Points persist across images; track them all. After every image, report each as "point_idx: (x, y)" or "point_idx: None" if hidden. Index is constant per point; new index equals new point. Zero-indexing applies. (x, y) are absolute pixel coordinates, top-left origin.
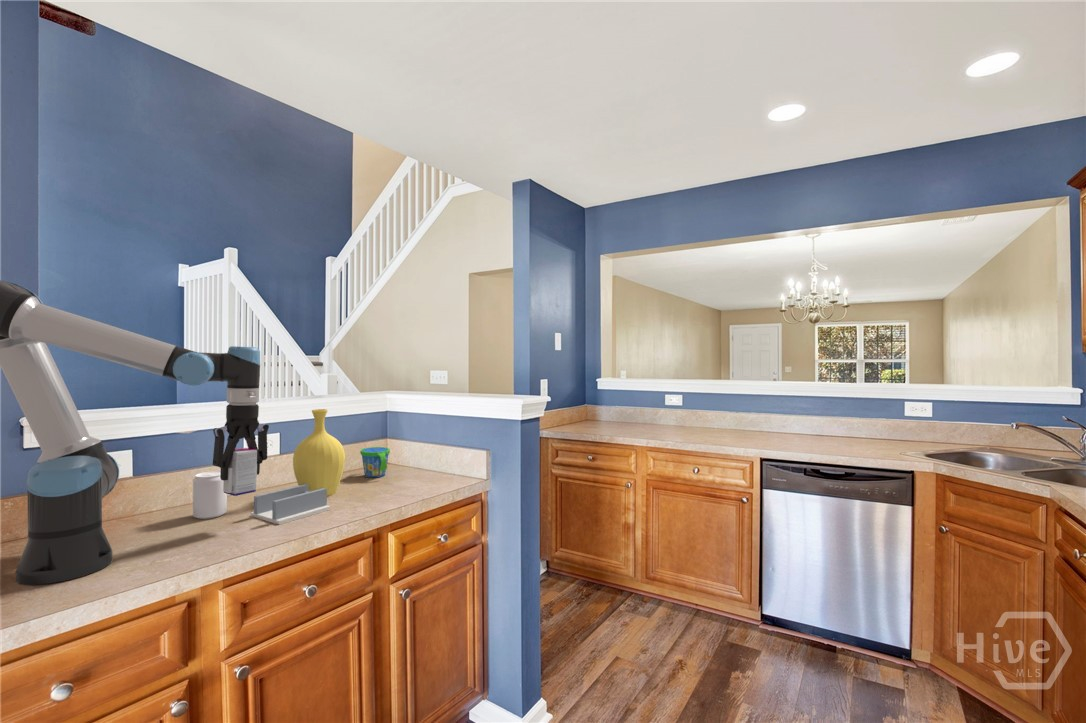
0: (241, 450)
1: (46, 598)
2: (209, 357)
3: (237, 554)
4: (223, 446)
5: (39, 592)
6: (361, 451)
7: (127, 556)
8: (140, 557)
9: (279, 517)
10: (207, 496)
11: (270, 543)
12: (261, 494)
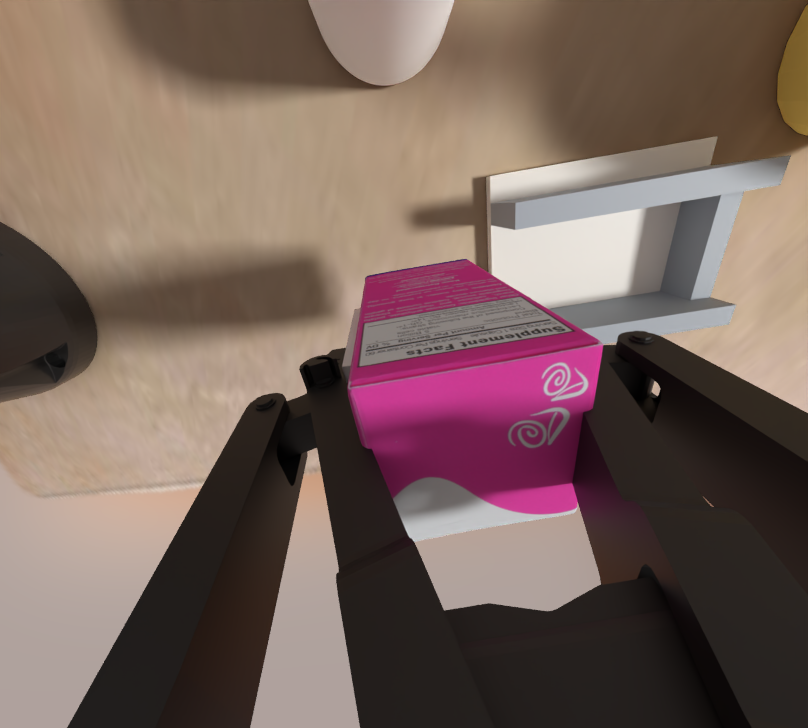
0: (471, 483)
1: (34, 439)
2: None
3: None
4: (269, 611)
5: (4, 405)
6: None
7: (127, 312)
8: (161, 343)
9: None
10: (343, 30)
11: None
12: (548, 201)
